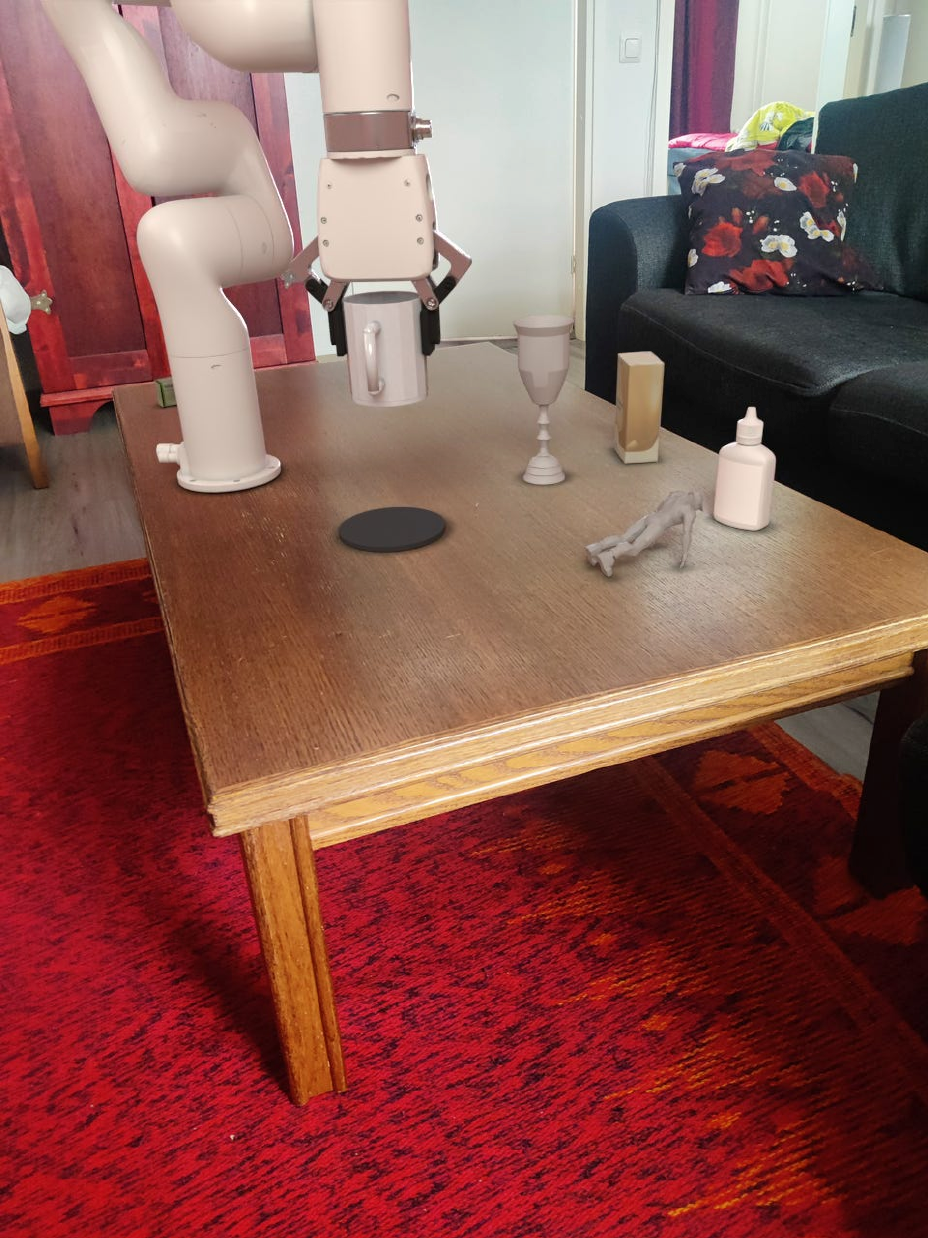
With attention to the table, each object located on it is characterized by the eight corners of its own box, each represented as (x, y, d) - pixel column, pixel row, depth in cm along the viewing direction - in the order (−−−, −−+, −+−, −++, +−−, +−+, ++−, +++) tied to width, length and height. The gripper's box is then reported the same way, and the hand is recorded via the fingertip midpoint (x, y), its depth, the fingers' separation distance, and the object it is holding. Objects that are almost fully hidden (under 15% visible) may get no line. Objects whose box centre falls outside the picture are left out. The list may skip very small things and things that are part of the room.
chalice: (569, 488, 109) (570, 327, 101) (510, 486, 110) (507, 327, 102) (575, 467, 115) (577, 314, 107) (520, 466, 117) (517, 315, 108)
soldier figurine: (624, 605, 88) (730, 541, 89) (607, 559, 85) (717, 493, 86) (591, 579, 93) (692, 518, 94) (574, 535, 90) (678, 473, 91)
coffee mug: (361, 387, 93) (352, 291, 89) (433, 386, 92) (428, 289, 88) (334, 417, 84) (324, 311, 80) (414, 417, 83) (408, 310, 79)
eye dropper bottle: (734, 535, 95) (745, 417, 89) (708, 516, 100) (717, 403, 94) (774, 529, 96) (787, 412, 90) (746, 510, 101) (757, 398, 95)
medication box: (163, 408, 149) (158, 384, 147) (156, 403, 151) (152, 379, 149) (234, 393, 155) (230, 368, 153) (227, 388, 157) (223, 364, 155)
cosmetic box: (612, 449, 121) (616, 352, 115) (646, 447, 121) (651, 349, 116) (624, 465, 115) (628, 363, 110) (659, 462, 116) (665, 361, 110)
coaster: (327, 551, 96) (326, 546, 96) (353, 511, 106) (352, 506, 105) (436, 553, 94) (436, 547, 94) (452, 511, 104) (452, 506, 104)
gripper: (479, 132, 81) (484, 343, 90) (283, 140, 84) (306, 344, 92) (468, 134, 75) (475, 361, 83) (255, 142, 77) (283, 363, 85)
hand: (386, 351), depth 87 cm, fingers closed on coffee mug, 7 cm apart
